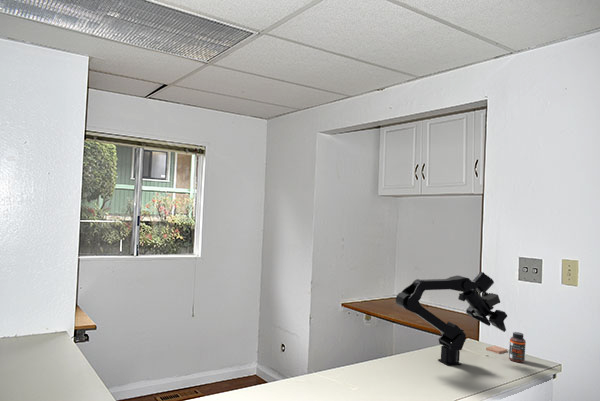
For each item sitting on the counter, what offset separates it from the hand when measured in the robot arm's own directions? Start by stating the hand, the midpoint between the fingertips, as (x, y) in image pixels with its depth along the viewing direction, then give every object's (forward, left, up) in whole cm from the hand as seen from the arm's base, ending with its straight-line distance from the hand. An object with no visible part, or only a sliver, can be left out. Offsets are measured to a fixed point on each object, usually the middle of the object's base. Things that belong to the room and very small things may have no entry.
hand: (497, 328), depth 186 cm
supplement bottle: (+10, -1, -14) cm, 17 cm away
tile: (+9, +11, -13) cm, 20 cm away
